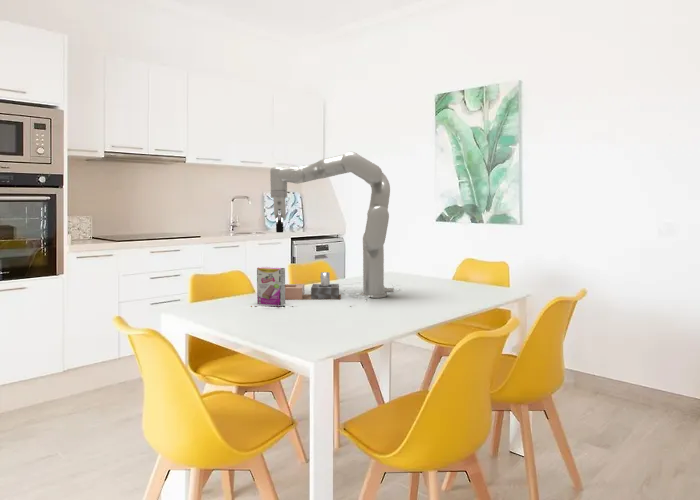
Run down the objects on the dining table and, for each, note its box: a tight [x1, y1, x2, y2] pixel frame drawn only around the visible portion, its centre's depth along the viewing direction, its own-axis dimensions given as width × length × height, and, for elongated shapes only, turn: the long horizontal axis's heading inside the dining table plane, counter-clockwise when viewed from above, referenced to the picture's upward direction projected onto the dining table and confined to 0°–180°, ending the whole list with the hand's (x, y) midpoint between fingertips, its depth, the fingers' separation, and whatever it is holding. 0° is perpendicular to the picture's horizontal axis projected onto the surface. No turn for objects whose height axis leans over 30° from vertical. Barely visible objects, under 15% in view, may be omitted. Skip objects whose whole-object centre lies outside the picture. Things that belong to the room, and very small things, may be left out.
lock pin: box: [320, 271, 331, 287], centre depth 249 cm, size 4×4×11 cm
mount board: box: [285, 283, 342, 301], centre depth 250 cm, size 30×14×6 cm, turn 90°
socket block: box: [285, 283, 305, 299], centre depth 250 cm, size 12×12×5 cm
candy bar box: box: [256, 266, 286, 308], centre depth 233 cm, size 11×5×16 cm, turn 71°
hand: (279, 231), depth 254 cm, fingers open, 9 cm apart
